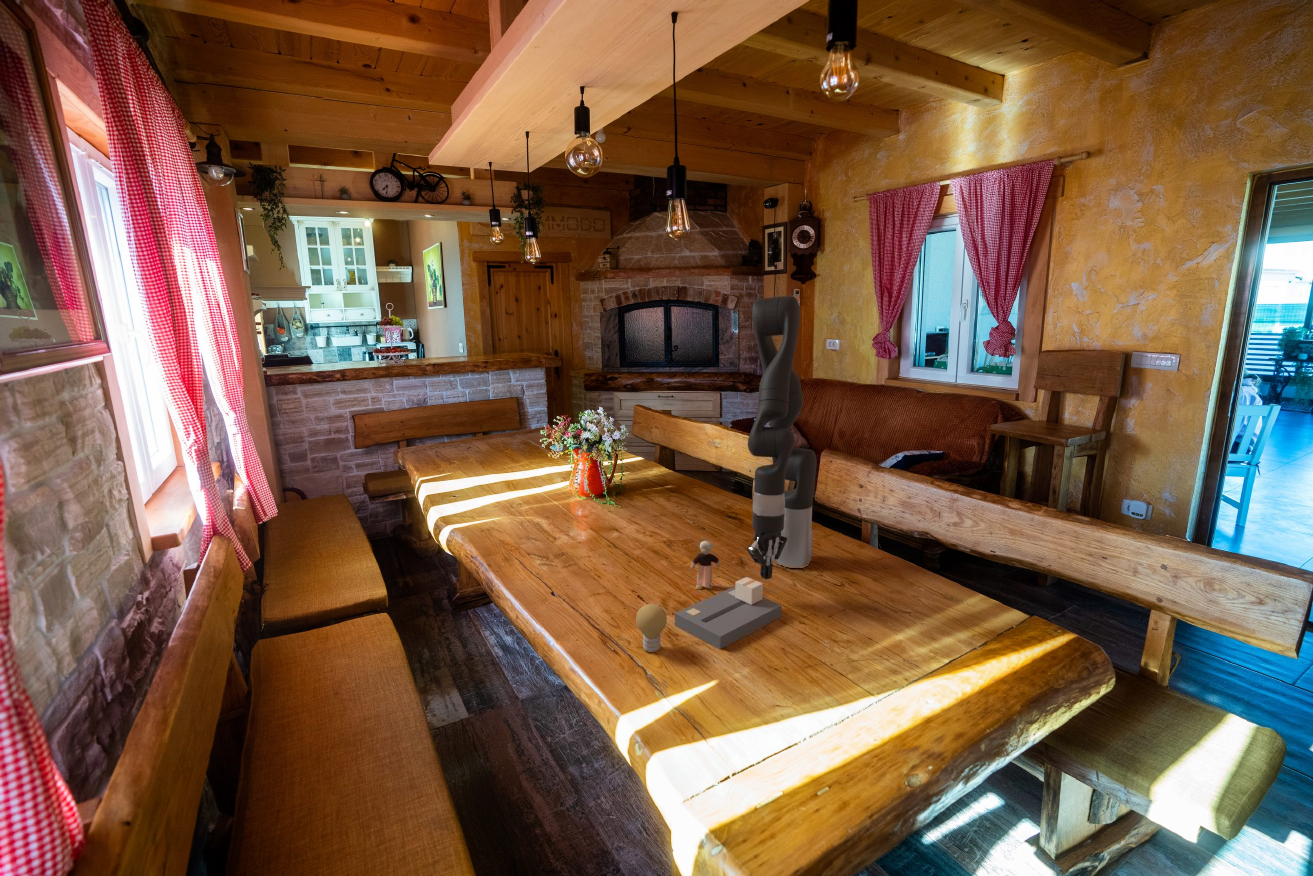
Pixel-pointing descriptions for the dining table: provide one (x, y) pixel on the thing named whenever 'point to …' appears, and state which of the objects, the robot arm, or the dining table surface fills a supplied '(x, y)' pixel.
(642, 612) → the light bulb
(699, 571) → the grandmother figurine
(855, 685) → the dining table surface
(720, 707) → the dining table surface
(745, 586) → the fader knob
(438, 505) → the dining table surface
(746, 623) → the fader console
